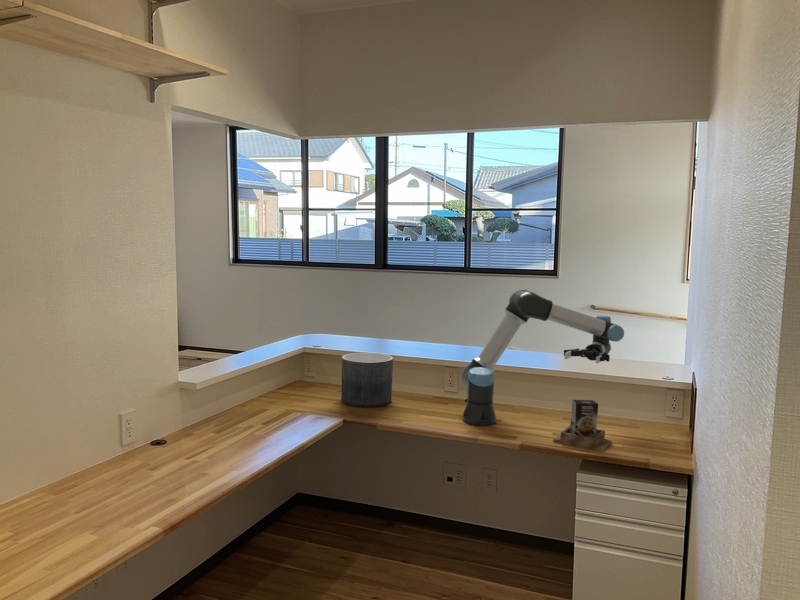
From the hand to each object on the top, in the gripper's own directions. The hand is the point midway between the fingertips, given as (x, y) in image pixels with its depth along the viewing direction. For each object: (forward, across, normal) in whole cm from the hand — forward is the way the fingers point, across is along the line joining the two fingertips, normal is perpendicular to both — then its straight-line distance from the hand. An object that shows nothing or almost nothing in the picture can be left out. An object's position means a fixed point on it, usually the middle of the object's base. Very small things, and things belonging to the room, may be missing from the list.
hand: (580, 358), depth 262 cm
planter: (+20, +100, -32) cm, 107 cm away
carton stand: (+15, -7, -32) cm, 36 cm away
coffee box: (+15, -7, -31) cm, 35 cm away
